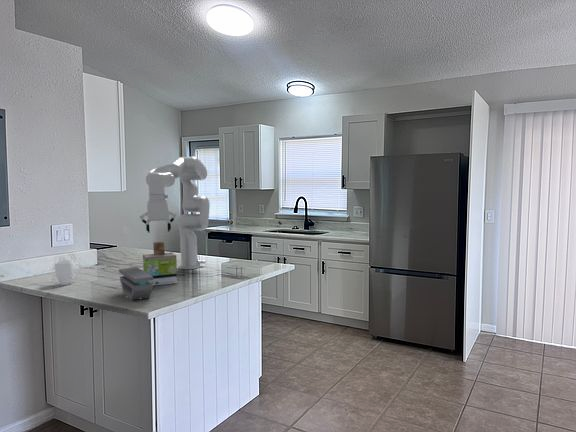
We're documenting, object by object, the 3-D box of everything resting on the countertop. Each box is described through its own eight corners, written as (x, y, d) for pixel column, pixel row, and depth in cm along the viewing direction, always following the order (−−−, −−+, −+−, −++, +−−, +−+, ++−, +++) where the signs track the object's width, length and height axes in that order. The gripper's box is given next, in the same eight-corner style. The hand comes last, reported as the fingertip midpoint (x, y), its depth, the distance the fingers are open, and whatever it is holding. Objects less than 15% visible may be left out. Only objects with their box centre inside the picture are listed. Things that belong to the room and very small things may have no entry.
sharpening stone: (120, 292, 207) (119, 269, 206) (137, 289, 212) (136, 267, 211) (135, 304, 187) (134, 279, 186) (154, 301, 191) (153, 276, 190)
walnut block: (164, 253, 225) (163, 241, 225) (164, 254, 220) (164, 243, 220) (153, 253, 224) (153, 242, 223) (154, 255, 219) (153, 243, 218)
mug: (58, 287, 218) (56, 264, 217) (54, 284, 224) (52, 261, 223) (84, 283, 225) (82, 261, 224) (79, 280, 232) (78, 258, 231)
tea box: (146, 287, 216) (145, 257, 214) (143, 282, 224) (141, 254, 223) (177, 283, 222) (176, 254, 221) (173, 279, 231) (171, 251, 230)
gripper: (174, 196, 226) (175, 229, 228) (138, 198, 220) (140, 231, 222) (175, 197, 219) (177, 231, 221) (138, 199, 213) (140, 234, 215)
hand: (158, 231), depth 222 cm, fingers open, 9 cm apart
